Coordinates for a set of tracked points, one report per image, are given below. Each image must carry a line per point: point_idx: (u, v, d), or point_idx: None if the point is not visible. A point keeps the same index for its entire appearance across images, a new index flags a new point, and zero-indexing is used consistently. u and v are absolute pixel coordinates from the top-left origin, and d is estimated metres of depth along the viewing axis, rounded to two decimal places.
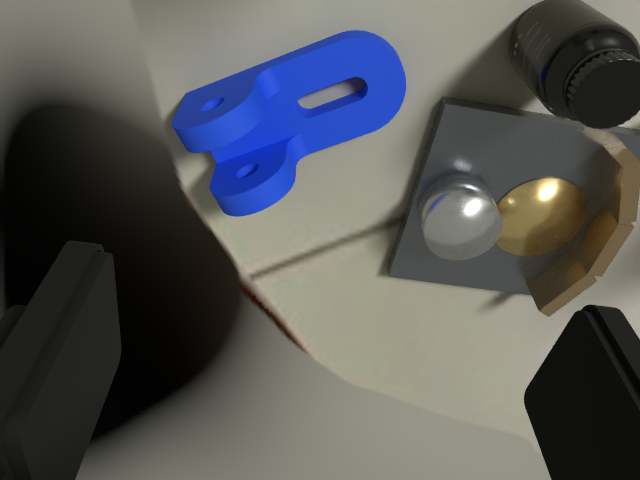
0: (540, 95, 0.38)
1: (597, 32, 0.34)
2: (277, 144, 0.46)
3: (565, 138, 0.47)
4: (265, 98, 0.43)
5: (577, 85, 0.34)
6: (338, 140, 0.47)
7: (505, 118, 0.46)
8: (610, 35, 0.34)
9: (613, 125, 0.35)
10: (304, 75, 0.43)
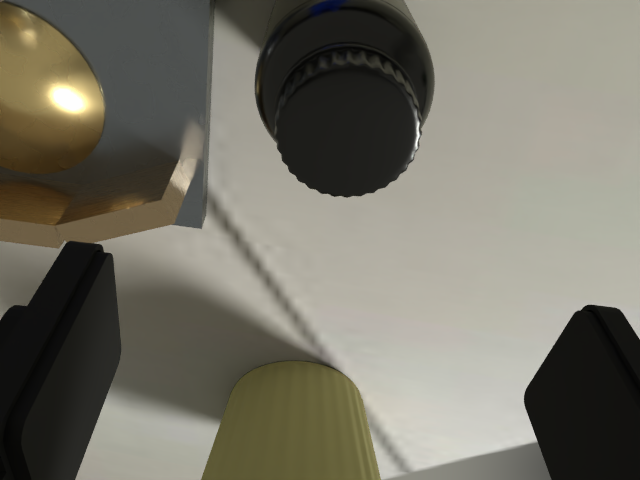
0: (302, 8, 0.18)
1: (428, 80, 0.19)
2: None
3: (180, 99, 0.27)
4: None
5: (368, 62, 0.16)
6: None
7: None
8: (423, 104, 0.20)
9: (286, 155, 0.18)
10: None
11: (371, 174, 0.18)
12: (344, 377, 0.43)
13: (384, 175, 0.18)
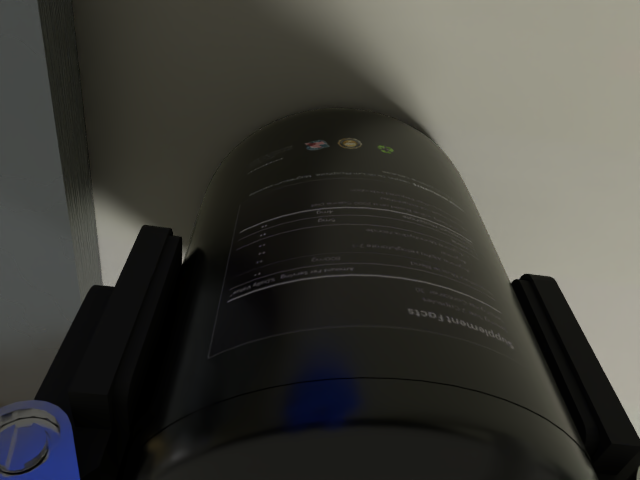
0: (221, 436, 0.06)
1: None
2: None
3: (39, 346, 0.15)
4: None
5: None
6: None
7: (41, 160, 0.11)
8: None
9: None
10: None
11: None
12: None
13: None
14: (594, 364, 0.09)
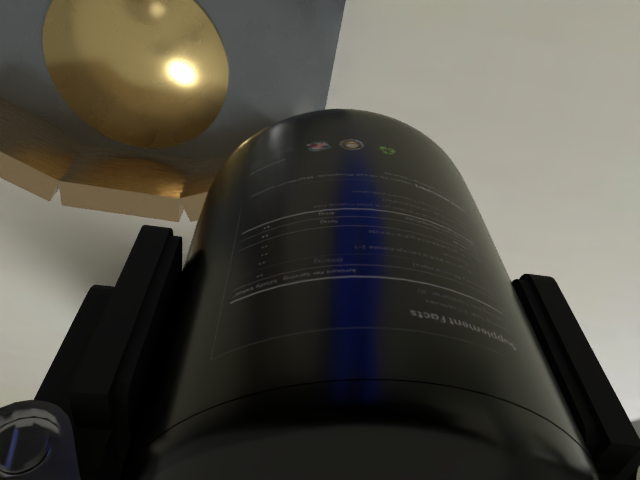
0: (224, 438, 0.06)
1: None
2: None
3: (306, 73, 0.27)
4: None
5: None
6: None
7: None
8: None
9: None
10: None
11: None
12: None
13: None
14: (594, 364, 0.09)
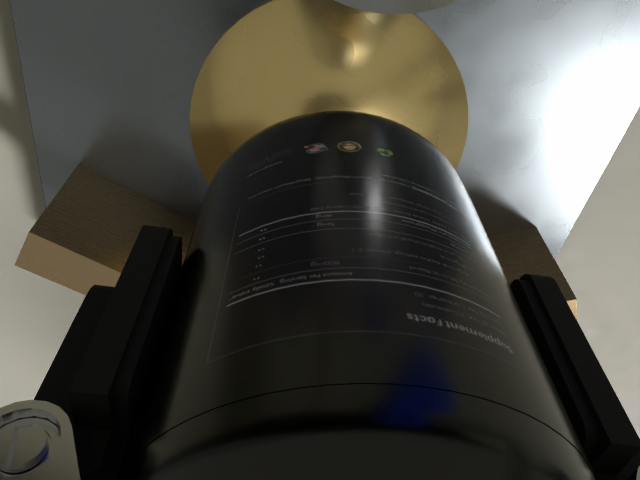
0: (219, 443, 0.06)
1: None
2: None
3: (580, 142, 0.18)
4: None
5: None
6: None
7: None
8: None
9: None
10: None
11: None
12: None
13: None
14: (594, 364, 0.09)
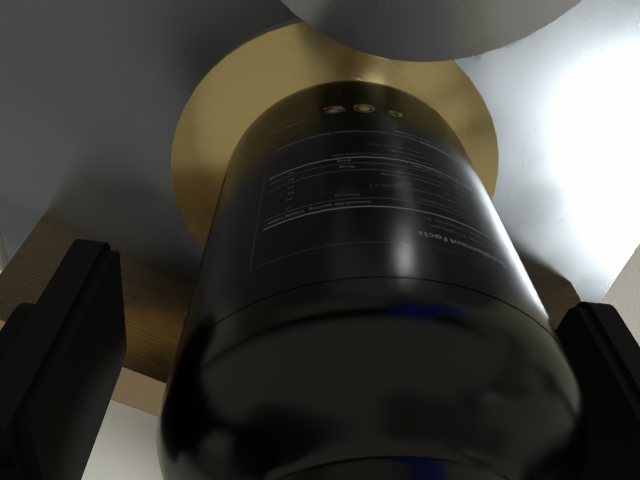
0: (266, 322, 0.07)
1: (583, 467, 0.08)
2: None
3: (627, 192, 0.16)
4: None
5: None
6: None
7: None
8: None
9: None
10: None
11: None
12: None
13: None
14: None
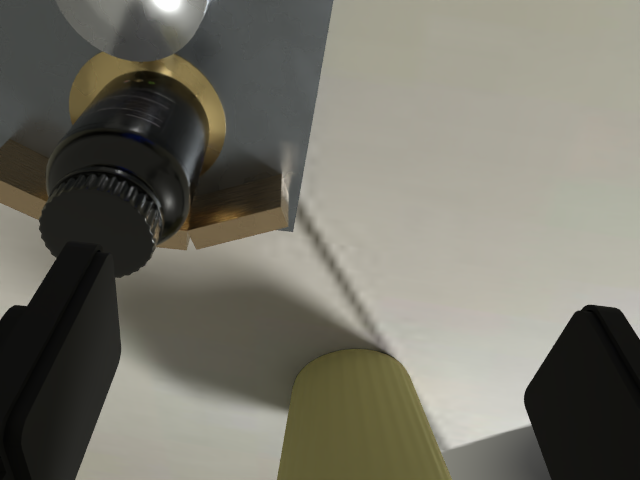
0: (71, 134, 0.24)
1: (178, 185, 0.25)
2: None
3: (290, 123, 0.33)
4: None
5: (100, 187, 0.22)
6: None
7: (321, 27, 0.30)
8: (177, 202, 0.25)
9: (53, 250, 0.23)
10: None
11: (123, 262, 0.24)
12: (397, 362, 0.48)
13: (134, 263, 0.24)
14: None
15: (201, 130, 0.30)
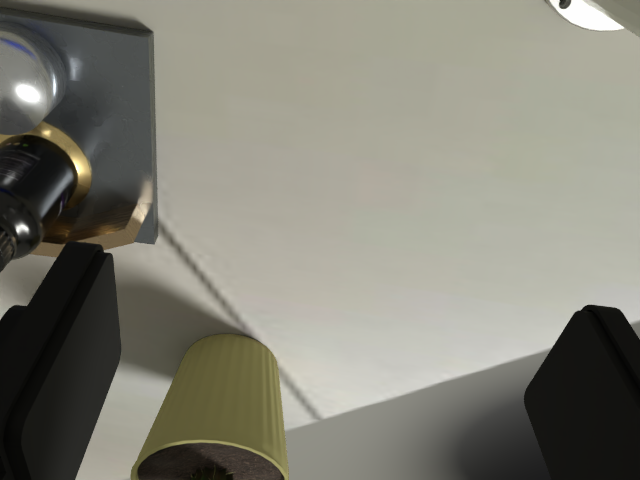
0: None
1: (27, 219, 0.38)
2: None
3: (136, 169, 0.46)
4: None
5: None
6: None
7: (145, 106, 0.43)
8: (28, 230, 0.39)
9: None
10: None
11: None
12: (261, 345, 0.61)
13: None
14: None
15: (62, 176, 0.43)
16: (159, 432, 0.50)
